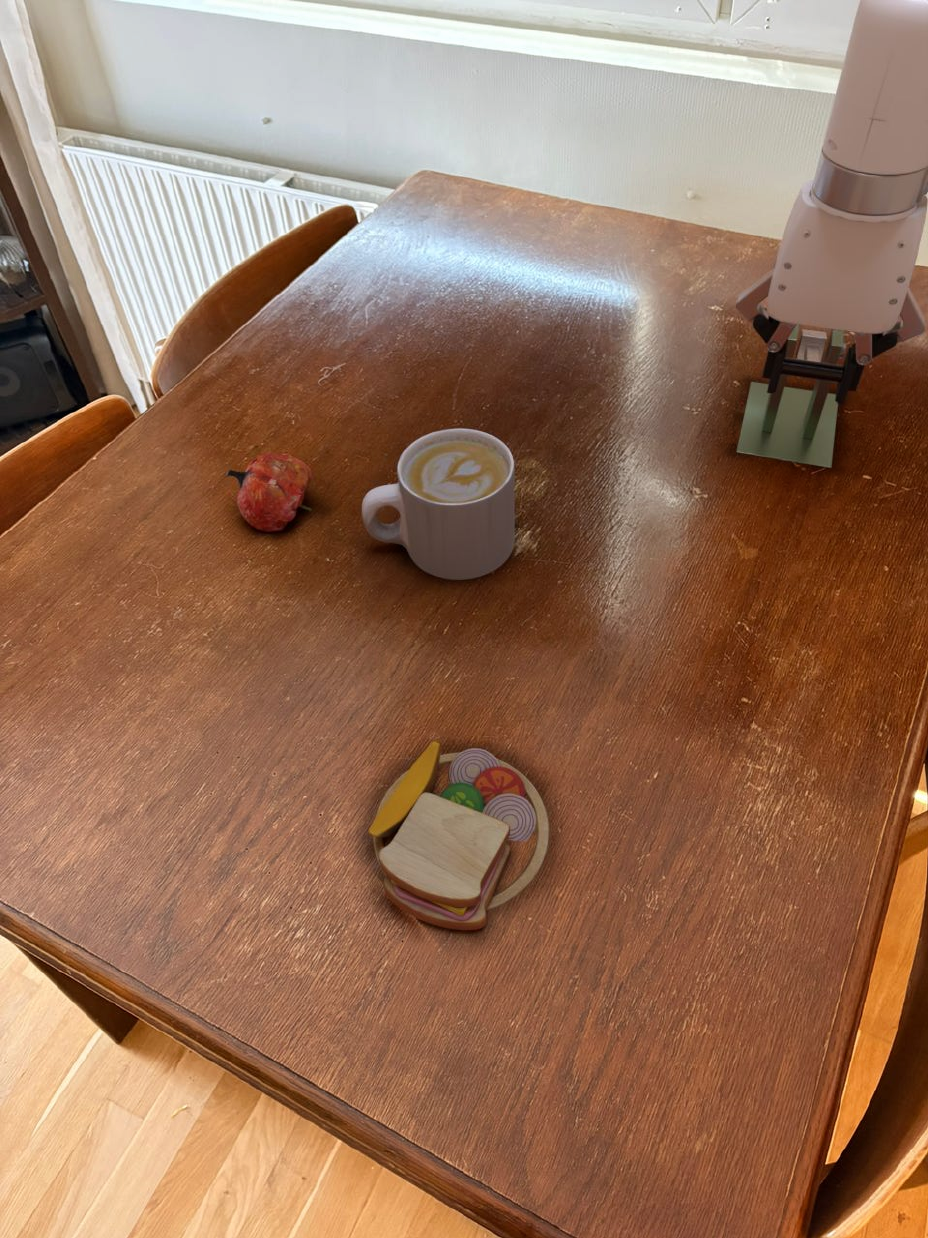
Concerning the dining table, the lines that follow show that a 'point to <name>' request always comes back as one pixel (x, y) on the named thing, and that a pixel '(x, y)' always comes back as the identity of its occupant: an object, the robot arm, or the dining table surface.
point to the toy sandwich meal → (456, 836)
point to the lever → (812, 359)
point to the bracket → (793, 415)
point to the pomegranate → (272, 490)
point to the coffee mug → (450, 504)
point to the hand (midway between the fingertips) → (806, 387)
